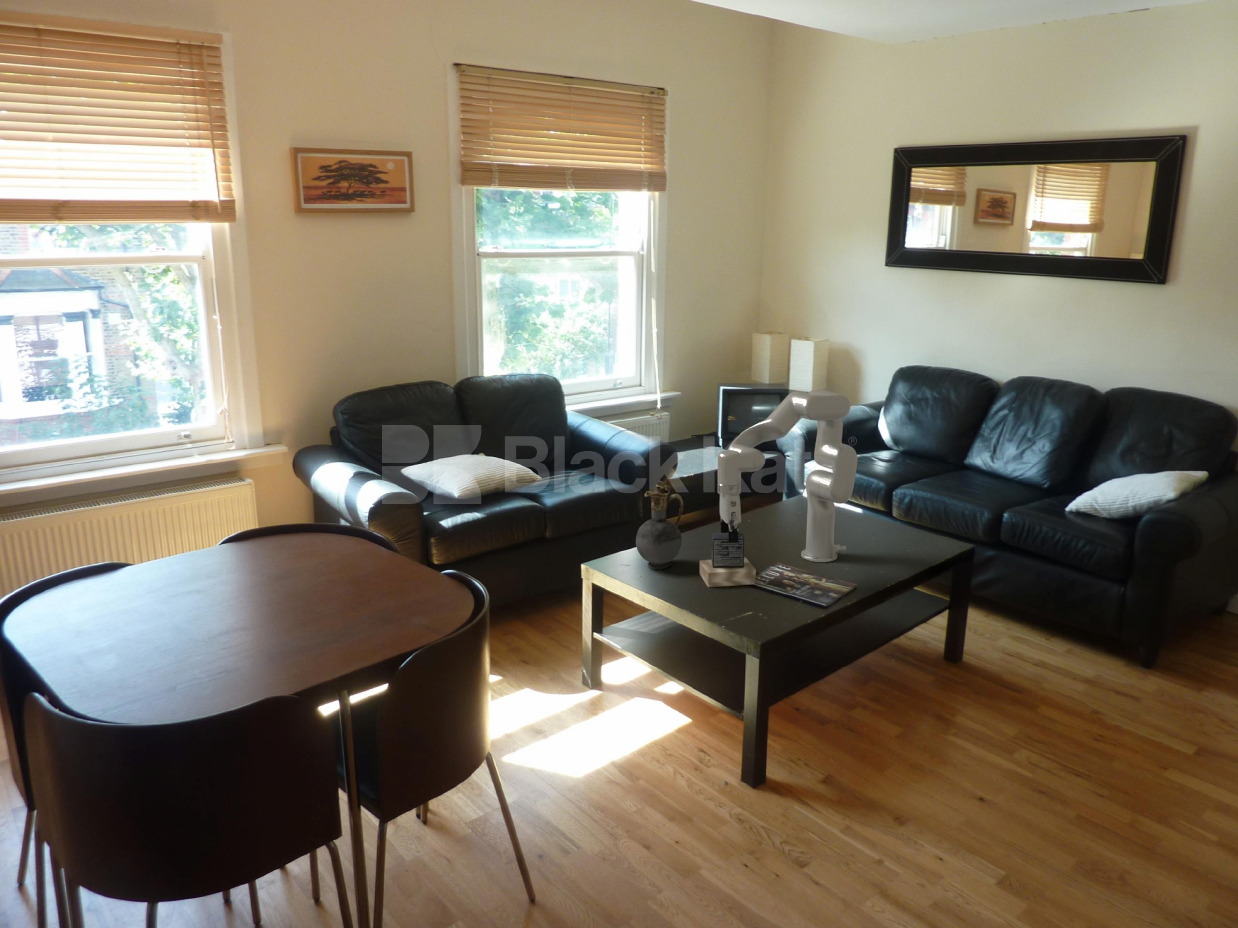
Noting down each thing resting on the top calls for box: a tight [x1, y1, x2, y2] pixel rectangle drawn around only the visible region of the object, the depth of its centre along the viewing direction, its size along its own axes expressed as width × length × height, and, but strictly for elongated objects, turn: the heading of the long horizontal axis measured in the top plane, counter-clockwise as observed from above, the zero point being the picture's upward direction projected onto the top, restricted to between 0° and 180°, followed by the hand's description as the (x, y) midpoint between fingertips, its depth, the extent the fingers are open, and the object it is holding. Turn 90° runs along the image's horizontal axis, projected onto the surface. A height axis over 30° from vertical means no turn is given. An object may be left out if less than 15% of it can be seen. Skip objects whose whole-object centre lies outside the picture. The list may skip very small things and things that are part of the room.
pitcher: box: [635, 481, 684, 570], centre depth 326 cm, size 11×19×30 cm, turn 130°
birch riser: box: [699, 556, 757, 588], centre depth 315 cm, size 16×12×5 cm
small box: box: [711, 532, 745, 568], centre depth 314 cm, size 11×6×10 cm, turn 88°
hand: (729, 537), depth 313 cm, fingers open, 9 cm apart
